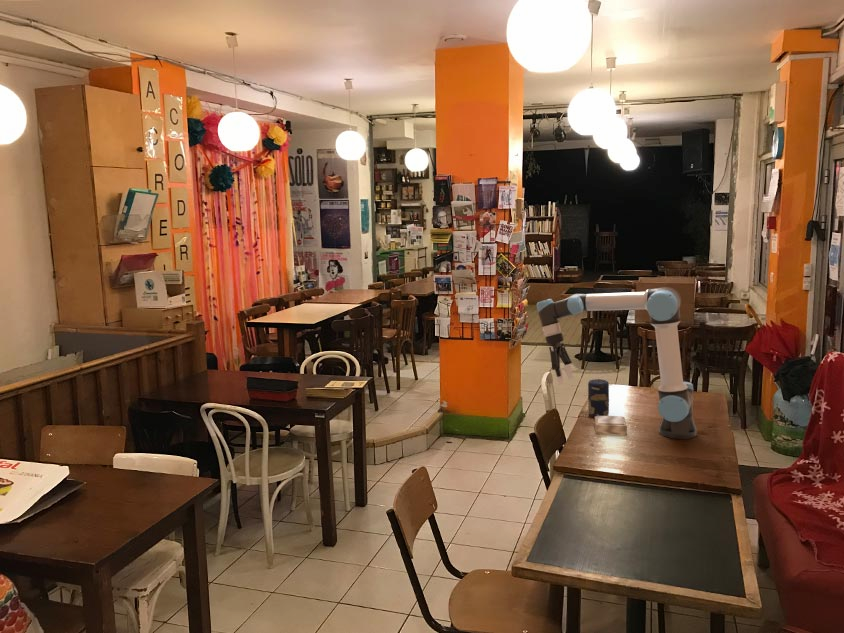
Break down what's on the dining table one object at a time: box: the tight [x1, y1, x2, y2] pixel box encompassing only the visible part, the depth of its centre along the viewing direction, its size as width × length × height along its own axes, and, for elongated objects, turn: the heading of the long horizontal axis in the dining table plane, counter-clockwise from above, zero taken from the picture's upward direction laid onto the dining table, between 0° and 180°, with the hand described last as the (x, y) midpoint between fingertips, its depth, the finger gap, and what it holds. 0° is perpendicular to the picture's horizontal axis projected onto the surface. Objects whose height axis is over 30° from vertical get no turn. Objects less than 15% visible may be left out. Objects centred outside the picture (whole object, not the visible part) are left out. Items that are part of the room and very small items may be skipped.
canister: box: [587, 378, 610, 418], centre depth 325 cm, size 10×10×18 cm
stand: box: [594, 415, 628, 435], centre depth 305 cm, size 13×13×5 cm
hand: (566, 381), depth 299 cm, fingers open, 13 cm apart
